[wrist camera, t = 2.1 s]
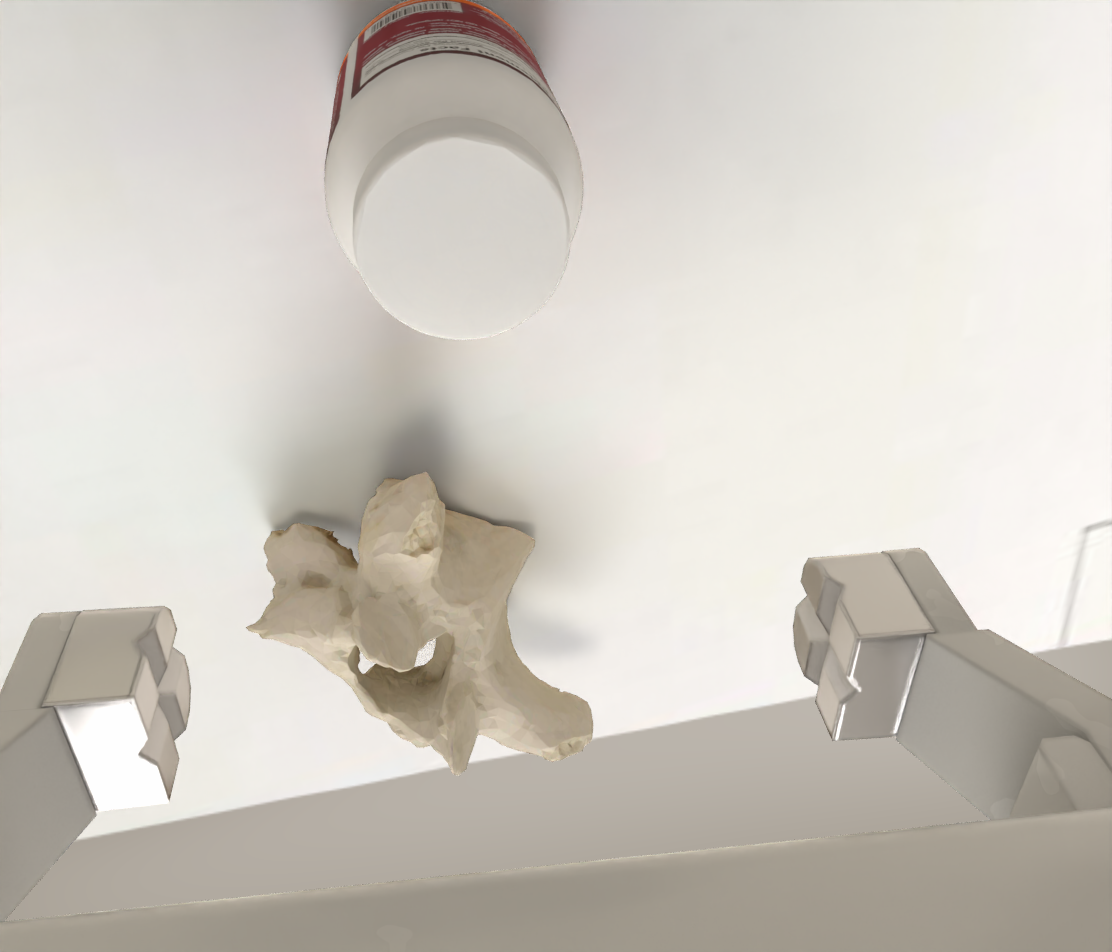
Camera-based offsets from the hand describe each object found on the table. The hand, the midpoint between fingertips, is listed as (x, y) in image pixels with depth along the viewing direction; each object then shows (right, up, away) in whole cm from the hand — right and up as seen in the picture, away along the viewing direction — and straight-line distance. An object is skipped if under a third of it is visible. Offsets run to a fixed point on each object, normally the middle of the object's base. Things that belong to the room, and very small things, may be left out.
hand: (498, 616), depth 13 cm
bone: (-4, -1, +27) cm, 28 cm away
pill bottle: (-3, +13, +17) cm, 22 cm away
